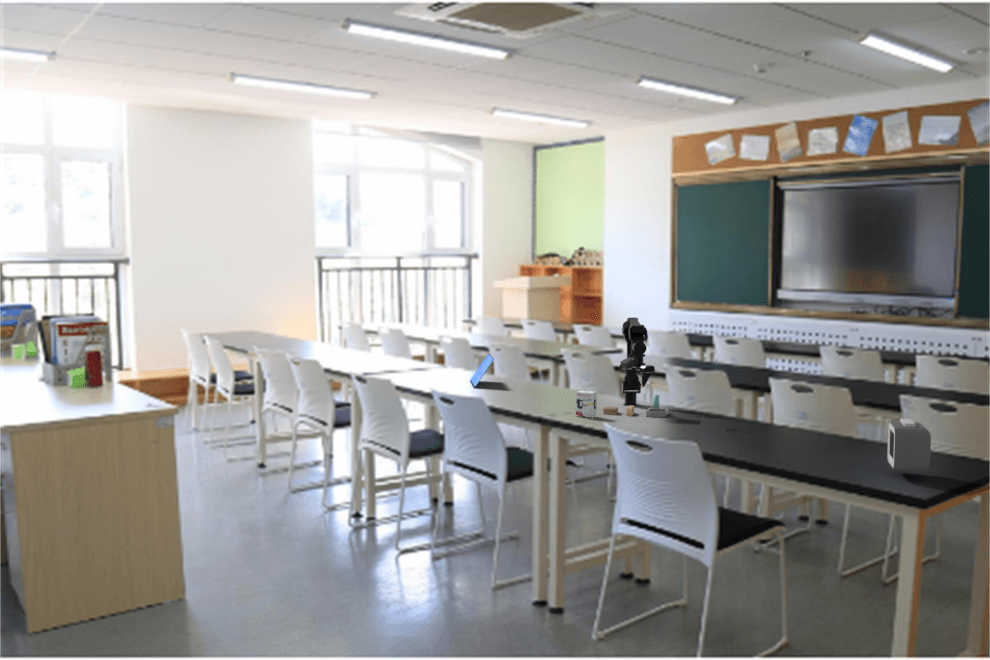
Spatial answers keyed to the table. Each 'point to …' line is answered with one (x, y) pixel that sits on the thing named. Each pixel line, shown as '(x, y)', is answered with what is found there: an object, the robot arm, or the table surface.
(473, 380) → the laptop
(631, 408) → the block
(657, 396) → the dowel
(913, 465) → the alarm clock
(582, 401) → the ink box
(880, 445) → the table surface
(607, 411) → the walnut block
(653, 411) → the tray
